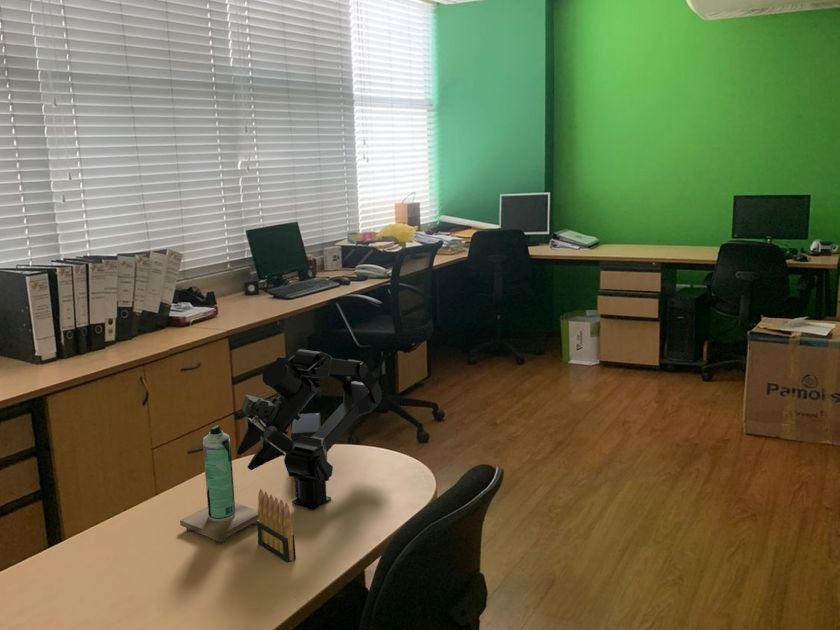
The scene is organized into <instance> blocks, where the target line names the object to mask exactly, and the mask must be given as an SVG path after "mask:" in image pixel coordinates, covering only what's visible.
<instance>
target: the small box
mask: <svg viewBox="0 0 840 630" xmlns="http://www.w3.org/2000/svg"><path fill="white" fill-rule="evenodd" d="M298 415H299V416H300V417H301V418H300V419H299V420H298V421H297V420H296V419H294V421H293V422H292V423H291V424H292V426H291V432H290V438H291V439H292V440H293V441H294V442H295V441H296V439H297V438H298V437H299V436H301V435H302V436H307V437H312V436H313V435H314V434H315V433H316V431H317V430H318V429H319V428H320V427H321V426H322V425H321V413H320V412H315V413H301V414H300V413H299V414H298ZM293 478H294V479H296V478H295V477H293Z"/></svg>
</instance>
